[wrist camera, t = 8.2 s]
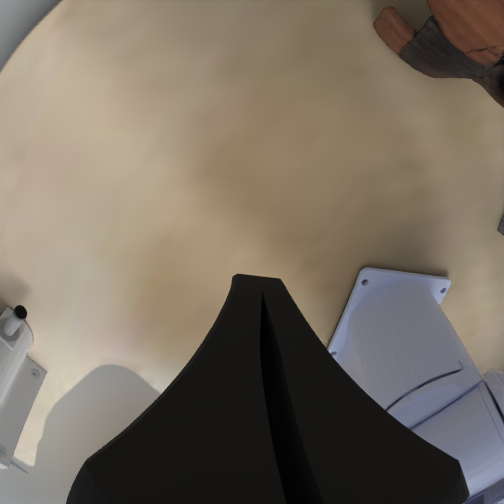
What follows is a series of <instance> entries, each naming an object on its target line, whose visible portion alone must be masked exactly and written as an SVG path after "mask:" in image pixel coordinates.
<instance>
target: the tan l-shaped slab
mask: <svg viewBox="0 0 504 504" xmlns="http://www.w3.org/2000/svg"><path fill="white" fill-rule="evenodd" d="M498 231H499V232H500V233H501V234H502V235H503V236H504V217H503V219H502V222H501V224H500V226H499V229H498Z"/></svg>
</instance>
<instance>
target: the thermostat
mask: <svg viewBox="0 0 504 504" xmlns="http://www.w3.org/2000/svg"><path fill="white" fill-rule="evenodd" d="M26 316H27V311H26V309H25V308H24V307H23V306H21V305H19V306H17V307H16V308H15V309H14V311H13V310H12V309H10V308H9V307H7V308H6V310H5V311H4V312H3V314H2V315H1V316H0V469H6V468H9V465H10V462H11V459H12V456H13V454H14V451H15V448H16V445H17V443H18V440H19V437H20V435H21V432H22V430H23V427H24V425H25V422H26V420H27V417H28V415H29V412H30V410H31V408H32V405H33V403H34V401H35V398H36V396H37V394H38V391H39V389H40V387H41V385H42V383H43V380H44V378H45V376H46V374H47V372H46V371H45V370H44V369H42V368H41V367H40V366H38V365H37V364H36V363H35V362H33V361H32V360H31V359H30V358H28V356H27V355H26V354H27V353H28V351H29V349H30V347H31V345H32V343H33V335H32V332H31V330H30V329H29V327H28V325H27V324H26V323H25V321H24V319H25V318H26Z"/></svg>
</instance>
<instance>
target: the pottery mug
mask: <svg viewBox="0 0 504 504" xmlns="http://www.w3.org/2000/svg"><path fill="white" fill-rule="evenodd" d="M427 3H428V6H429V9H430V11H431V12H432V16H431V17H429V19H428V20H427V22H426V24H425V25H424V26H423V28H422V29H421V30H420V31H419V32H416V31H415V30H414V29H413V28H412V27H411V26H409V25H408V24H407V22H406V21H405V20H404V19H403V18H402V17H401V16H400V14H399V13H398V12H397V11H396V9H395V8H394V7H392V6H388V7H385V8H384V9H383V10H382V11H381V14H380V16H379V17H378V18H377V20H376V21H375V23H374V28H375V30H376V31H377V32H378V34H379V36H380V37H381V38H382V39H383V41H384V42H385V43H386V44H387V45H388V46H389V47H390V48H391V49H392V50H393V51H394V52H395V53H396V54H398V55H399V57H400V58H401V59H402V60H404V61H405V62H406V63H408V64H409V65H410V66H411V67H412V68H414V69H416V70H418V71H420V72H422V73H423V74H425V75H428V76H430V77H434V78H469V79H472V80H473V81H475V82H477V83H478V84H480V85H481V86H482V87H483V88H484V89H485V90H486V91H487V92H488V93H489V94H490V95H491V97H492V98H493V99H494V100H495V101H496V102H498V103H499V104H500V105H501V106H502V107H503V108H504V0H427ZM502 55H503V56H502Z"/></svg>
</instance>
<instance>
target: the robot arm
mask: <svg viewBox="0 0 504 504" xmlns="http://www.w3.org/2000/svg"><path fill="white" fill-rule="evenodd" d="M365 279H367V280H366V281H365V282H362V281H363V280H365ZM450 285H451V281H450V279H449V278H447V277H441V276H433V275H425V274H418V273H410V272H402V271H394V270H386V269H378V268H370V267H366V268H363V269H362V270H361V271H360V273H359V275H358V278H357V280H356V283H355V285H354V288H353V290H352V293H351V295H350V298H349V300H348V303H347V305H346V308H345V310H344V312H343V315H342V317H341V319H340V322H339V324H338V326H337V329H336V331H335V333H334V335H333V338H332V340H331V342H330V344H329V347H328V349H326V347H325V346H324V345H323V344H322V342H321V341H320V339H319V338H318V337H317V335H316V334H315V332H314V331H313V329H312V328H311V327H310V325H309V324H308V322H307V321H306V319H305V318H304V316H303V315H302V313H301V312H300V310H299V308H298V307H297V305H296V304H295V302H294V300H293V299H292V297H291V295H290V294H289V292H288V290H287V289H286V287H285V285H284V283H283V282H282V281H281V279H278V278H270V277H261V276H253V275H245V274H236V275H234V276H233V277H232V284H231V288H230V291H229V294H228V296H227V299H226V301H225V303H224V305H223V307H222V309H221V311H220V313H219V315H218V317H217V319H216V321H215V323H214V324H213V326H212V328H211V329H210V331H209V333H208V334H207V336H206V337H205V339H204V341H203V342H202V344H201V345H200V347H199V348H198V350H197V351H196V352H195V354H194V355H193V357H192V358H191V359H190V361H189V362H188V363H187V364H186V366H185V367H184V368H183V370H182V371H181V372H180V373H179V374H178V376H177V377H176V378H175V379H174V380H173V381H172V383H171V384H170V385H169V386H168V387H167V388H166V390H165V391H164V392H163V393H162V394H161V395H160V396H159V397H158V398H157V399H156V400H155V401H154V402H153V403H152V404H151V405H150V406H149V407H148V408H147V409H146V410H145V411H144V412H143V413H142V414H141V415H140V416H139V417H138V418H137V419H136V420H134V421H133V422H132V423H131V424H130V425H129V426H128V427H127V428H126V429H125V430H123V431H122V432H121V433H120V434H119V435H118V436H116V437H115V438H114V439H112V440H111V441H110V442H108V443H107V444H106V445H105V446H103V447H102V448H101V449H99V450H98V451H97V452H96V453H94V454H93V455H92V456H91V457H89V458H88V459H87V460H86V461H85V463H84V464H83V466H82V467H81V469H80V471H79V473H78V474H77V476H76V478H75V480H74V482H73V484H72V487H71V490H70V492H69V495H68V497H67V502H66V504H504V372H502V371H496V372H495V371H494V370H493V369H491V370H489V371H488V372H487V373H485V374H484V375H485V378H486V380H487V382H488V383H487V382H486V380H485V379H484V377H483V376H482V374H481V373H480V371H479V370H478V368H477V367H476V366H475V364H474V362H473V360H472V359H471V357H470V355H469V353H468V352H467V350H466V348H465V346H464V345H463V343H462V341H461V340H460V338H459V336H458V335H457V333H456V331H455V330H454V328H453V326H452V325H451V323H450V321H449V320H448V318H447V317H446V315H445V313H444V312H443V310H442V309H441V307H440V304H441V302H442V300H443V298H444V297H445V295H446V293H447V291H448V289H449V287H450ZM441 289H442V290H441ZM333 351H334V352H333ZM488 384H489V385H488Z"/></svg>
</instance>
